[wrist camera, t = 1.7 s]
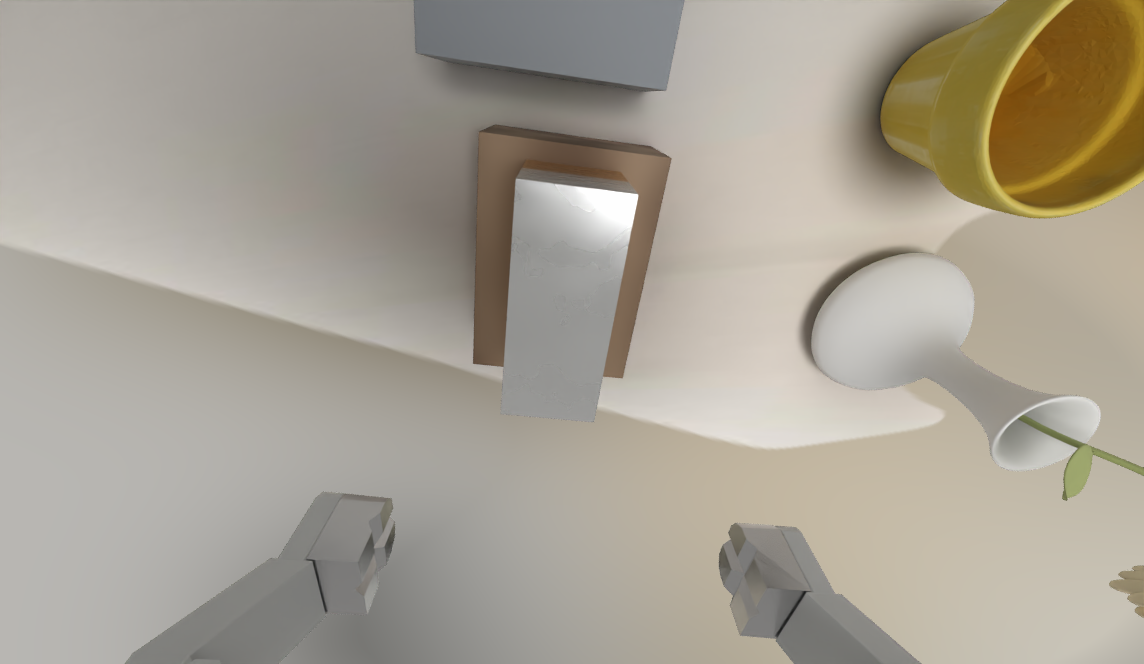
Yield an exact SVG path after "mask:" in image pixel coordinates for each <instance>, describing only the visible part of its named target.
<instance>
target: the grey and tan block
mask: <svg viewBox="0 0 1144 664" xmlns="http://www.w3.org/2000/svg"><path fill="white" fill-rule="evenodd" d="M637 199H638V193H637V192H636V191H635V190H634V188H633V187H632V186H631V184H630V183H629V182H628V180H627V179H626V178H625V176H624V175H623V174H622V173H621V172H617V171H610V170H602V169H595V168H588V167H580V166H573V165H565V164H558V163H550V162H543V161H535V160H528V159H527V160H526V161H525V163H524V165H523V167H522V168H521V170H520V172H519V174H518V175H517V177H516V182H515V197H514V213H513V228H512V244H511V260H510V275H509V291H508V306H507V322H506V338H505V353H504V369H503V384H502V400H501V414H506V415H517V416H529V417H540V418H551V419H563V420H575V421H585V422H594V419H595V413H596V409H597V404H598V398H599V393H600V388H601V383H602V378H603V373H604V368H605V363H606V358H607V352H608V347H609V342H610V337H611V332H612V327H613V322H614V317H615V312H616V307H617V301H618V296H619V291H620V286H621V281H622V276H623V271H624V266H625V261H626V256H627V250H628V245H629V240H630V235H631V230H632V225H633V220H634V215H635V210H636V205H637Z"/></svg>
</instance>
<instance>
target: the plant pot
mask: <svg viewBox="0 0 1144 664" xmlns="http://www.w3.org/2000/svg"><path fill="white" fill-rule="evenodd" d="M880 121H881V129H882V133H883V136H884V138H885V140H886V142H887V143H888V144H889V145H890V147H891V148H892V149H894V150H895V151H896V152H898V153H900V154H902V155H904V156H906V157H908V158H910V159H912V160H913V161H915V162H917V163H919V164H921V165H923V166H925V167H926V168H928V169H930V170H932V171H934V172H935V174H936V175H937V177H938V179H939V180H940V182H941V183H942V184H943V185H944V186H945V187H946V188H947V189H948V190H949V191H950V192H951V193H953V194H954V195H956V196H957V197H959V198H961V199H963V200H965V201H968V202H970V203H973V204H976V205H979V206H982V207H986V208H989V209H993V210H996V211H1001V212H1005V213H1009V214H1013V215H1018V216H1023V217H1028V218H1056V217H1063V216H1069V215H1073V214H1077V213H1080V212H1083V211H1086V210H1090V209H1092V208H1095V207H1097V206H1100V205H1102V204H1104V203H1106V202H1108V201H1110V200H1112V199H1114V198H1116V197H1118V196H1120V195H1122V194H1123V193H1125V192H1127V191H1128V190H1130V189H1132V188H1133V187H1135V186H1136V185H1138V184H1139V183H1141V182H1142V181H1144V0H1007V1H1006V2H1004V3H1003V4H1002V5H1001V6H1000V7H998V8H997V9H996V10H995V11H994V12H993V13H992V14H989V15H987V16H985V17H983V18H981V19H979V20H976V21H974V22H972V23H970V24H968V25H966V26H964V27H961V28H959V29H957V30H955V31H953V32H950V33H948V34H946V35H944V36H942V37H940V38H938V39H936V40H934V41H932V42H930V43H928V44H926V45H925V46H923V47H922V48H920V49H919V50H918V51H916V52H915V53H914V54H913V55H912V56H911V57H910V58H909V59H908V60H907V61H906V62H905V63H904V64H903V65H902V66H901V68H900V69H899V70H898V72H897V73H896V74H895V76H894V77H893V79H892V80H891V82H890V84H889V86H888V88H887V91H886V93H885V96H884V99H883V103H882V107H881V115H880Z"/></svg>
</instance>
